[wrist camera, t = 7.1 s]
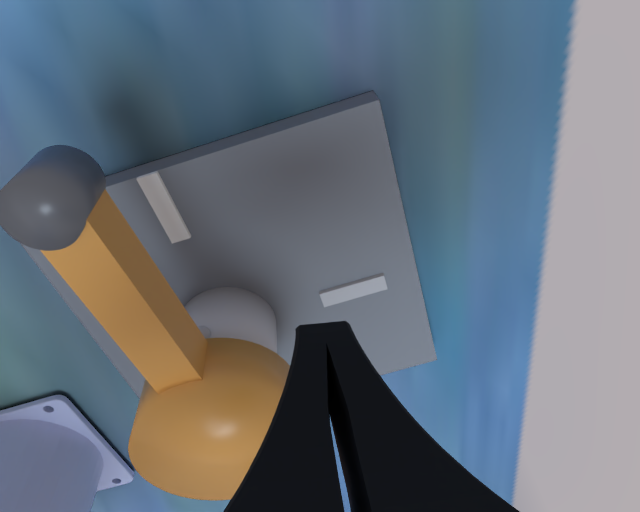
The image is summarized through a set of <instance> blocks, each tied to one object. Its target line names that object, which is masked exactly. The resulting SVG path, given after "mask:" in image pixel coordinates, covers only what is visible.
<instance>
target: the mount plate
mask: <svg viewBox="0 0 640 512" xmlns="http://www.w3.org/2000/svg"><path fill="white" fill-rule="evenodd" d="M105 179H106V191H107V192H108V194H109V195H110V197H111V198H112V200H113V201H114V203H115V204H116V206H117V207H118V209H119V210H120V212H121V213H122V215H123V216H124V218H125V219H126V221H127V222H128V224H129V225H130V227H131V228H132V230H133V231H134V233H135V234H136V236H137V237H138V239H139V240H140V242H141V243H142V245H143V246H144V248H145V249H146V251H147V252H148V254H149V255H150V257H151V258H152V260H153V261H154V263H155V264H156V266H157V267H158V269H159V270H160V272H161V273H162V275H163V276H164V278H165V279H166V281H167V282H168V284H169V285H170V287H171V288H172V290H173V291H174V293H175V294H176V296H177V297H178V299H179V300H180V302H181V303H182V305H183V306H184V308H185V309H186V311H187V312H188V314H189V315H190V317H191V318H192V319H193V321H194V322H195V324H196V325H197V327H198V328H199V330H200V331H201V333H202V334H203V336H204V337H205V339H207V338H234V339H241V340H246V341H250V342H253V343H256V344H259V345H262V346H264V347H266V348H268V349H270V350H272V351H273V352H275V353H277V354H278V355H279V356H280V357H282V358H283V359H284V360H285V361H286V362H287V363H288V364H289V365H291V360H292V356H293V351H294V345H295V336H296V330H295V329H296V328H297V327H298V326H299V325H306V324H316V323H327V322H337V321H347V322H348V323H349V324H350V326H351V328H352V330H353V332H354V334H355V336H356V338H357V340H358V342H359V344H360V345H361V347H362V349H363V350H364V352H365V354H366V355H367V357H368V359H369V360H370V362H371V363H372V365H373V366H374V368H375V369H376V371H377V372H378V373H379V375H383V374H387V373H391V372H394V371H398V370H402V369H405V368H409V367H413V366H416V365H420V364H424V363H427V362H431V361H435V360H437V358H436V353H435V349H434V344H433V340H432V335H431V331H430V326H429V322H428V317H427V313H426V308H425V303H424V299H423V294H422V290H421V285H420V281H419V276H418V272H417V267H416V263H415V258H414V254H413V249H412V245H411V240H410V236H409V231H408V227H407V222H406V218H405V213H404V209H403V204H402V200H401V195H400V191H399V186H398V182H397V177H396V173H395V168H394V164H393V159H392V155H391V150H390V146H389V141H388V137H387V132H386V128H385V123H384V119H383V114H382V110H381V105H380V101H379V99H378V97H377V96H376V94H375V93H374V91H370V92H367V93H364V94H361V95H358V96H355V97H351V98H348V99H345V100H342V101H339V102H336V103H333V104H330V105H327V106H323V107H320V108H317V109H314V110H311V111H308V112H305V113H302V114H299V115H295V116H292V117H289V118H286V119H283V120H280V121H277V122H274V123H271V124H267V125H264V126H261V127H258V128H255V129H252V130H249V131H246V132H243V133H240V134H236V135H233V136H230V137H227V138H224V139H221V140H218V141H215V142H212V143H208V144H205V145H202V146H199V147H196V148H193V149H190V150H187V151H184V152H180V153H177V154H174V155H171V156H168V157H165V158H162V159H159V160H156V161H152V162H149V163H146V164H143V165H140V166H137V167H134V168H131V169H128V170H124V171H121V172H118V173H115V174H112V175H109V176H106V177H105ZM20 244H21V243H20ZM21 245H22V246H23V248H24V249H25V250H26V251H27V253H28V254H29V255H30V257H31V258H32V259H33V261H34V262H35V263H36V265H37V266H38V267H39V268H40V270H41V271H42V272H43V274H44V275H45V276H46V278H47V279H48V280H49V281H50V283H51V284H52V285H53V287H54V288H55V289H56V291H57V292H58V293H59V294H60V296H61V297H62V298H63V300H64V301H65V302H66V304H67V305H68V306H69V308H70V309H71V310H72V311H73V313H74V314H75V315H76V317H77V318H78V319H79V321H80V322H81V323H82V324H83V326H84V327H85V328H86V330H87V331H88V332H89V334H90V335H91V336H92V338H93V339H94V340H95V341H96V343H97V344H98V345H99V347H100V348H101V349H102V351H103V352H104V353H105V354H106V356H107V357H108V358H109V360H110V361H111V362H112V364H113V365H114V366H115V367H116V369H117V370H118V371H119V373H120V374H121V375H122V377H123V378H124V379H125V381H126V382H127V383H128V384H129V386H130V387H131V388H132V390H133V391H134V392H135V394H136V395H137V396H138V397H139V399H140V397H141V393H142V389H143V386H144V382H145V378H144V376H143V375H142V374H141V373H140V372H139V370H138V369H137V368H136V367H135V365H134V364H133V363H132V362H131V361H130V359H129V358H128V357H127V356H126V354H125V353H124V352H123V351H122V350H121V348H120V347H119V346H118V345H117V344H116V342H115V341H114V340H113V339H112V337H111V336H110V335H109V334H108V333H107V331H106V330H105V329H104V328H103V326H102V325H101V324H100V323H99V322H98V320H97V319H96V318H95V317H94V315H93V314H92V313H91V312H90V311H89V309H88V308H87V307H86V306H85V304H84V303H83V302H82V301H81V300H80V298H79V297H78V296H77V295H76V294H75V292H74V291H73V290H72V289H71V287H70V286H69V285H68V284H67V283H66V281H65V280H64V279H63V278H62V276H61V275H60V274H59V273H58V272H57V270H56V269H55V268H54V267H53V265H52V264H51V263H50V262H49V261H48V259H47V258H46V257H45V256H44V255H43V253H42V252H41V251H40V250H38V249H34V248H31V247H28V246H26V245H23V244H21Z"/></svg>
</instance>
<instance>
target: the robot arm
mask: <svg viewBox="0 0 640 512" xmlns="http://www.w3.org/2000/svg"><path fill="white" fill-rule="evenodd" d="M295 330H296V336H295V345H294V351H293V356H292V360H291V365H290V368H289V372H288V376H287V379H286V383H285V386H284V389H283V392H282V395H281V398H280V400H279V403H278V406H277V409H276V411H275V414H274V417H273V419H272V422H271V424H270V426H269V429H268V431H267V433H266V435H265V438H264V440H263V442H262V444H261V446H260V448H259V450H258V452H257V454H256V456H255V458H254V460H253V462H252V464H251V466H250V468H249V470H248V472H247V473H246V475H245V477H244V479H243V481H242V482H241V484H240V486H239V487H238V489H237V491H236V492H235V494H234V496H233V497H232V499H231V500H230V502H229V504H228V505H227V507H226V508H225V510H224V512H344V507H343V501H342V495H341V489H340V483H339V478H338V471H337V465H336V459H335V453H334V447H333V440H332V434H331V427H330V417H331V422H332V426H333V430H334V435H335V439H336V444H337V448H338V452H339V457H340V461H341V466H342V470H343V474H344V479H345V483H346V487H347V492H348V497H349V502H350V508H351V512H519V511H518V510H517V509H515V508H514V507H512V506H511V505H510V504H508V503H507V502H506V501H505V500H503V499H502V498H501V497H499V496H498V495H497V494H495V493H494V492H493V491H491V490H490V489H489V488H488V487H487V486H485V485H484V484H483V483H482V482H480V481H479V480H478V479H477V478H475V477H474V476H473V475H472V474H471V473H470V472H468V471H467V470H466V469H465V468H464V467H463V466H462V465H461V464H460V463H458V462H457V461H456V460H455V459H454V458H453V457H452V456H451V455H450V454H448V453H447V452H446V451H445V450H444V449H443V448H442V447H441V446H440V445H439V444H438V443H437V442H436V441H435V440H434V439H433V438H432V437H431V436H430V435H429V434H428V433H427V432H426V431H425V430H424V429H423V428H422V427H421V426H420V425H419V423H418V422H417V421H416V420H415V419H414V418H413V417H412V416H411V415H410V413H409V412H408V411H407V410H406V409H405V408H404V406H403V405H402V404H401V403H400V401H399V400H398V399H397V398H396V396H395V395H394V394H393V393H392V391H391V390H390V389H389V387H388V386H387V385H386V383H385V382H384V381H383V379H382V378H381V376H380V375H379V373H378V372H377V371H376V369H375V368H374V366H373V365H372V363H371V362H370V360H369V359H368V357H367V355H366V354H365V352H364V350H363V349H362V347H361V345H360V344H359V342H358V340H357V338H356V336H355V334H354V332H353V330H352V328H351V326H350V324H349V323H348V322H347V321H337V322H327V323H316V324H306V325H299V326H298V327H297V328H296V329H295ZM133 477H134V472H133V471H132V470H131V468H130V467H129V466H128V465H127V464H126V463H125V462H124V461H123V459H122V458H121V457H120V456H119V455H118V454H117V453H116V452H115V451H114V449H113V448H112V447H111V446H110V445H109V444H108V443H107V442H106V440H105V439H104V438H103V437H102V436H101V435H100V434H99V433H98V432H97V430H96V429H95V428H94V427H93V426H92V425H91V424H90V423H89V421H88V420H87V419H86V418H85V417H84V416H83V415H82V414H81V413H80V411H79V410H78V409H77V408H76V407H75V406H74V405H73V404H72V402H71V401H70V400H69V399H68V398H67V397H65V396H63V395H53V396H50V397H46V398H43V399H39V400H36V401H32V402H29V403H25V404H22V405H18V406H15V407H11V408H8V409H4V410H1V411H0V512H90V511H91V507H92V504H93V501H94V497H95V494H96V491H100V490H104V489H108V488H111V487H115V486H119V485H123V484H126V483H129V482H131V481H132V480H133Z"/></svg>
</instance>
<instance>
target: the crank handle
mask: <svg viewBox="0 0 640 512" xmlns="http://www.w3.org/2000/svg"><path fill="white" fill-rule="evenodd" d="M0 225H1V226H2V228H3V229H4V230H5V231H6V232H7V233H8V234H9V235H10V236H11V237H12V238H13V239H15V240H16V241H18V242H20V243H21V244H23V245H26V246H28V247H31V248H34V249H38V250H40V251H41V252H42V253H43V255H44V256H45V257H46V258H47V259H48V261H49V262H50V263H51V264H52V265H53V267H54V268H55V269H56V270H57V272H58V273H59V274H60V275H61V276H62V278H63V279H64V280H65V281H66V283H67V284H68V285H69V286H70V287H71V289H72V290H73V291H74V292H75V294H76V295H77V296H78V297H79V298H80V300H81V301H82V302H83V303H84V304H85V306H86V307H87V308H88V309H89V311H90V312H91V313H92V314H93V315H94V317H95V318H96V319H97V320H98V322H99V323H100V324H101V325H102V326H103V328H104V329H105V330H106V331H107V333H108V334H109V335H110V336H111V337H112V339H113V340H114V341H115V342H116V344H117V345H118V346H119V347H120V348H121V350H122V351H123V352H124V353H125V354H126V356H127V357H128V358H129V359H130V361H131V362H132V363H133V364H134V365H135V367H136V368H137V369H138V370H139V372H140V373H141V374H142V375H143V376H144V378H145V382H144V386H143V389H142V393H141V397H140V401H139V405H138V408H137V412H136V416H135V420H134V424H133V428H132V431H131V435H130V439H129V445H128V451H129V457H130V460H131V462H132V464H133V466H134V468H135V469H136V471H137V472H138V473H139V474H140V475H141V476H142V477H143V478H144V479H145V480H147V481H148V482H149V483H151V484H152V485H154V486H156V487H158V488H160V489H161V490H164V491H166V492H169V493H171V494H175V495H178V496H181V497H186V498H191V499H199V500H228V499H232V497H233V496H234V494H235V492H236V491H237V489H238V487H239V486H240V484H241V482H242V481H243V479H244V477H245V475H246V473H247V472H248V470H249V468H250V466H251V464H252V462H253V460H254V458H255V456H256V454H257V452H258V450H259V448H260V446H261V444H262V442H263V440H264V438H265V435H266V433H267V431H268V429H269V426H270V424H271V422H272V419H273V417H274V414H275V411H276V409H277V406H278V403H279V400H280V398H281V395H282V392H283V389H284V386H285V383H286V379H287V376H288V372H289V368H290V365H289V364H288V363H287V362H286V361H285V360H284V359H283V358H282V357H280V356H279V355H278V354H277V353H275V352H273V351H272V350H270V349H268V348H266V347H264V346H262V345H259V344H256V343H253V342H250V341H246V340H241V339H234V338H207V339H205V337H204V336H203V334H202V333H201V331H200V330H199V328H198V327H197V325H196V324H195V322H194V321H193V319H192V318H191V317H190V315H189V314H188V312H187V311H186V309H185V308H184V306H183V305H182V303H181V302H180V300H179V299H178V297H177V296H176V294H175V293H174V291H173V290H172V288H171V287H170V285H169V284H168V282H167V281H166V279H165V278H164V276H163V275H162V273H161V272H160V270H159V269H158V267H157V266H156V264H155V263H154V261H153V260H152V258H151V257H150V255H149V254H148V252H147V251H146V249H145V248H144V246H143V245H142V243H141V242H140V240H139V239H138V237H137V236H136V234H135V233H134V231H133V230H132V228H131V227H130V225H129V224H128V222H127V221H126V219H125V218H124V216H123V215H122V213H121V212H120V210H119V209H118V207H117V206H116V204H115V203H114V201H113V200H112V198H111V197H110V195H109V194H108V192H107V191H106V179H105V176H104V173H103V171H102V169H101V167H100V166H99V164H98V163H97V162H96V161H95V160H94V159H93V158H92V157H91V156H90V155H88V154H87V153H85V152H83V151H82V150H79V149H77V148H74V147H71V146H66V145H54V146H50V147H46V148H44V149H42V150H41V151H39V152H38V153H37V154H36V155H35V156H34V157H33V158H32V159H31V160H30V161H29V162H28V163H27V164H26V165H25V166H24V167H23V168H22V169H21V170H20V171H19V172H18V173H17V174H16V175H15V176H14V177H13V178H12V179H11V180H10V181H9V182H8V183H7V184H6V185H5V186H4V187H3V188H2V189H1V190H0Z"/></svg>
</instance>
